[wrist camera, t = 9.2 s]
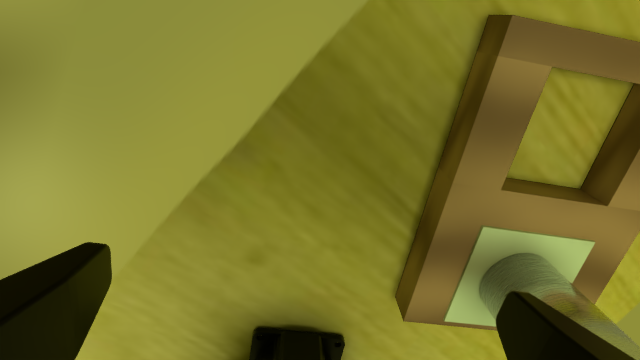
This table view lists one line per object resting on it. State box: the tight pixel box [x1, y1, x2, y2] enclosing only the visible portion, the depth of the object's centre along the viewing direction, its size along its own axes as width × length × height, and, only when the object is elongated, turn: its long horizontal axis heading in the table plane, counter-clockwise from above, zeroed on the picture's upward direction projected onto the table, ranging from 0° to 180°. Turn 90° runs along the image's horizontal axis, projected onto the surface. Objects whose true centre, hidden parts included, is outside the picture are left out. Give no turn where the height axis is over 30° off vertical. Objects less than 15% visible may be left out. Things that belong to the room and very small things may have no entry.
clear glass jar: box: [480, 253, 640, 360], centre depth 18 cm, size 4×4×9 cm
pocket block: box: [395, 15, 640, 330], centre depth 21 cm, size 18×12×2 cm, turn 170°
